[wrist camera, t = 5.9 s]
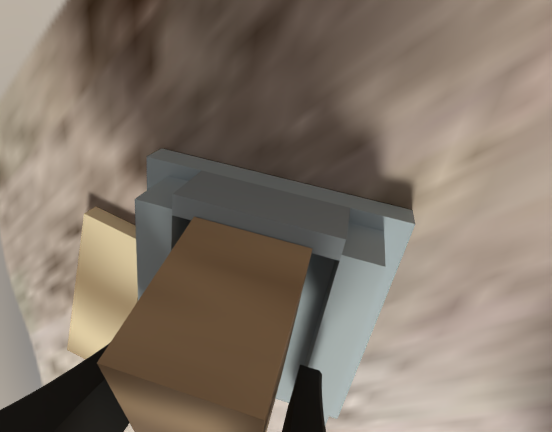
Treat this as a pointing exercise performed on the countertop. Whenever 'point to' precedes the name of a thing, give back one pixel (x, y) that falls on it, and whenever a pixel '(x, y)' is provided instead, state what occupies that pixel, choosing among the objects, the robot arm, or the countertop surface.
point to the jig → (295, 229)
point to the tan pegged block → (209, 333)
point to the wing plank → (103, 282)
